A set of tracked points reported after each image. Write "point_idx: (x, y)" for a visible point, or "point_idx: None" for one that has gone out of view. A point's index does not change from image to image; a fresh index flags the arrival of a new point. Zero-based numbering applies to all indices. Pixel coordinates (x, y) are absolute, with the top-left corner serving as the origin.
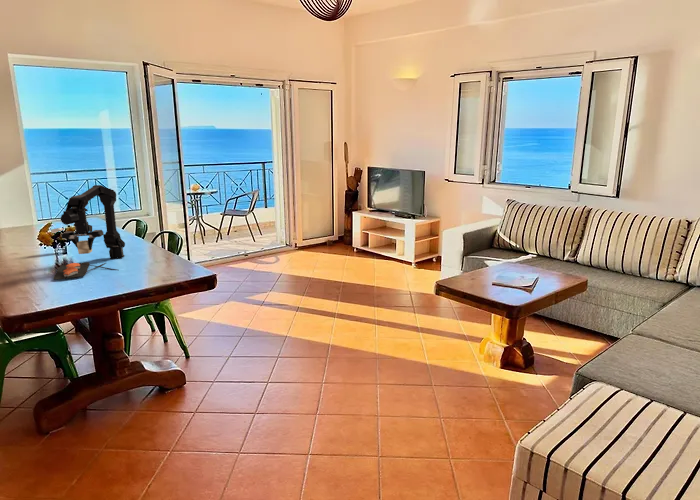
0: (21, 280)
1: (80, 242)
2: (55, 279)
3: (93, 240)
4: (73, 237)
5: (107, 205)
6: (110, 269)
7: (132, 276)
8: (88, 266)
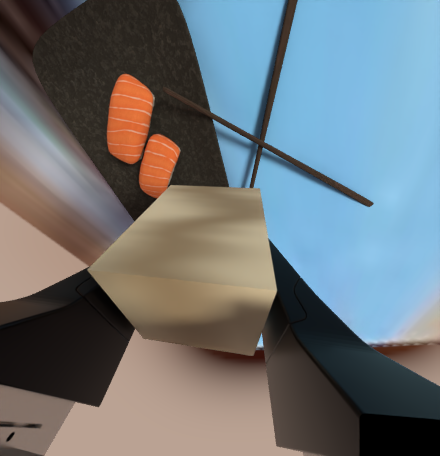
0: (72, 231)
1: (178, 342)
2: None
3: (338, 326)
4: (54, 429)
5: None
6: (331, 185)
7: (394, 283)
8: (217, 141)
